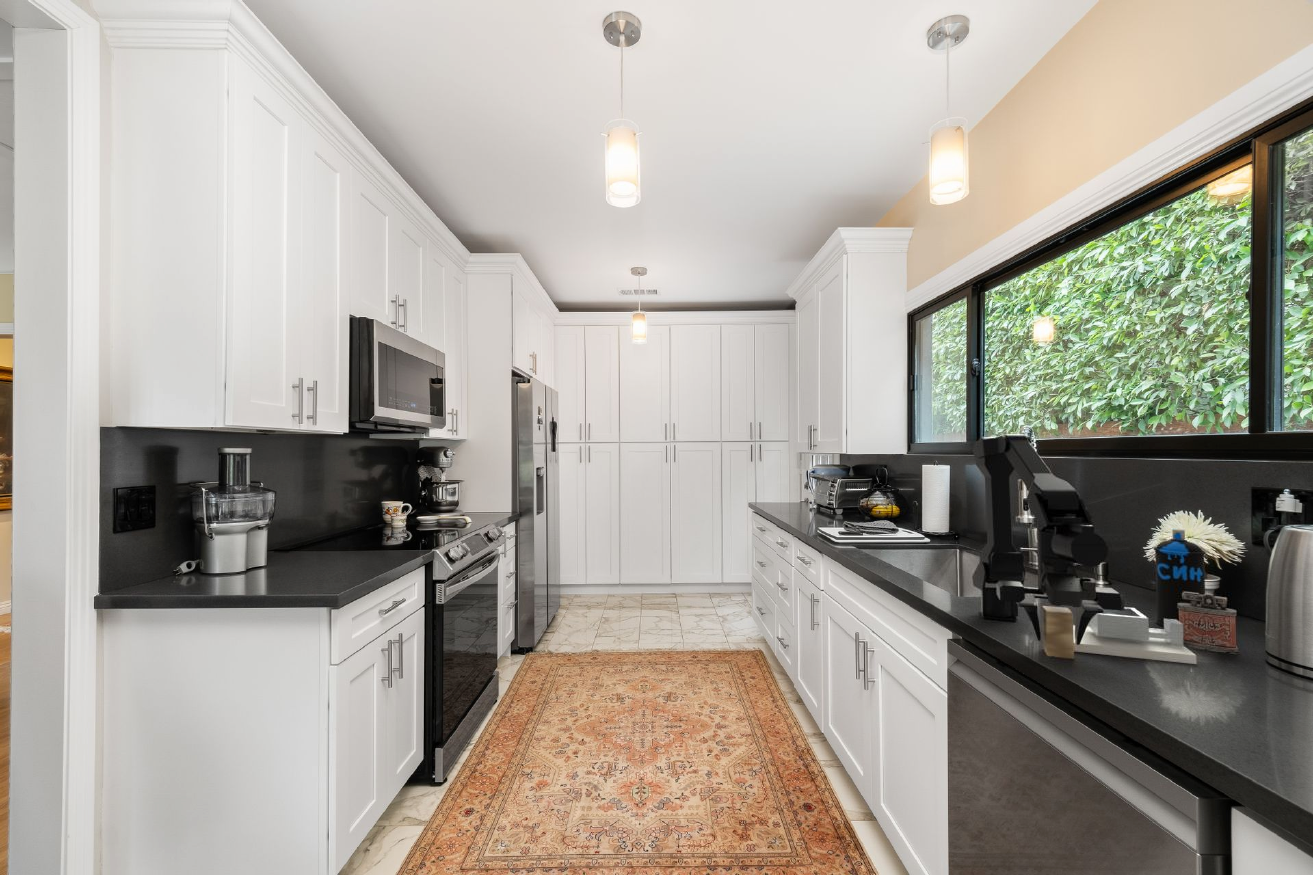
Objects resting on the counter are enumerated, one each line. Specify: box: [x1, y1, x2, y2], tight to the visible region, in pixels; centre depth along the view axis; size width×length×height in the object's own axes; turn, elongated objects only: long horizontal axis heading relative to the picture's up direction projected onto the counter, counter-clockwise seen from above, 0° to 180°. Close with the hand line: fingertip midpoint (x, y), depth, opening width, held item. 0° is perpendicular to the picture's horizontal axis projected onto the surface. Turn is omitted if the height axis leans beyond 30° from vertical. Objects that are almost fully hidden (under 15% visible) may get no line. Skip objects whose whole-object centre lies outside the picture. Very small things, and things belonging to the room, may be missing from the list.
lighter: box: [1178, 592, 1239, 654], centre depth 111 cm, size 8×3×10 cm, turn 47°
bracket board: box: [1073, 624, 1197, 665], centre depth 112 cm, size 19×13×2 cm
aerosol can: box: [1153, 528, 1207, 627], centre depth 124 cm, size 8×8×20 cm
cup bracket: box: [1088, 606, 1184, 646], centre depth 111 cm, size 13×8×5 cm, turn 67°
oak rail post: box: [1041, 605, 1075, 660], centre depth 108 cm, size 4×4×8 cm
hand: (1057, 642), depth 108 cm, fingers open, 6 cm apart
